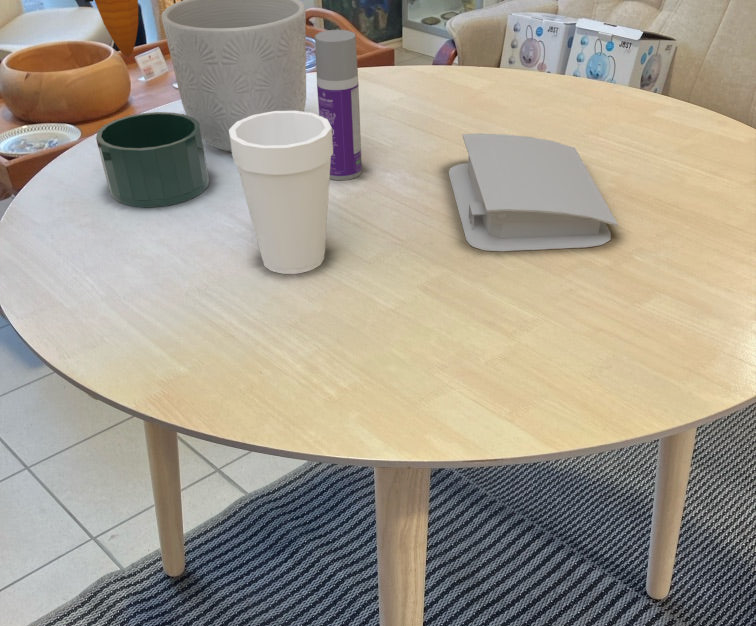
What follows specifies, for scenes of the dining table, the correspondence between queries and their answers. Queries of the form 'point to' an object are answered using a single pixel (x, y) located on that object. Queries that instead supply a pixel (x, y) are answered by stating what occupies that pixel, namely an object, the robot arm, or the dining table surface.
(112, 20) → the carrot
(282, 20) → the planter
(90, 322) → the dining table surface
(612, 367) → the dining table surface
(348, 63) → the container
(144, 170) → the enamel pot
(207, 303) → the dining table surface
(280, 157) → the foam cup
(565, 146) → the grey flat folded piece
